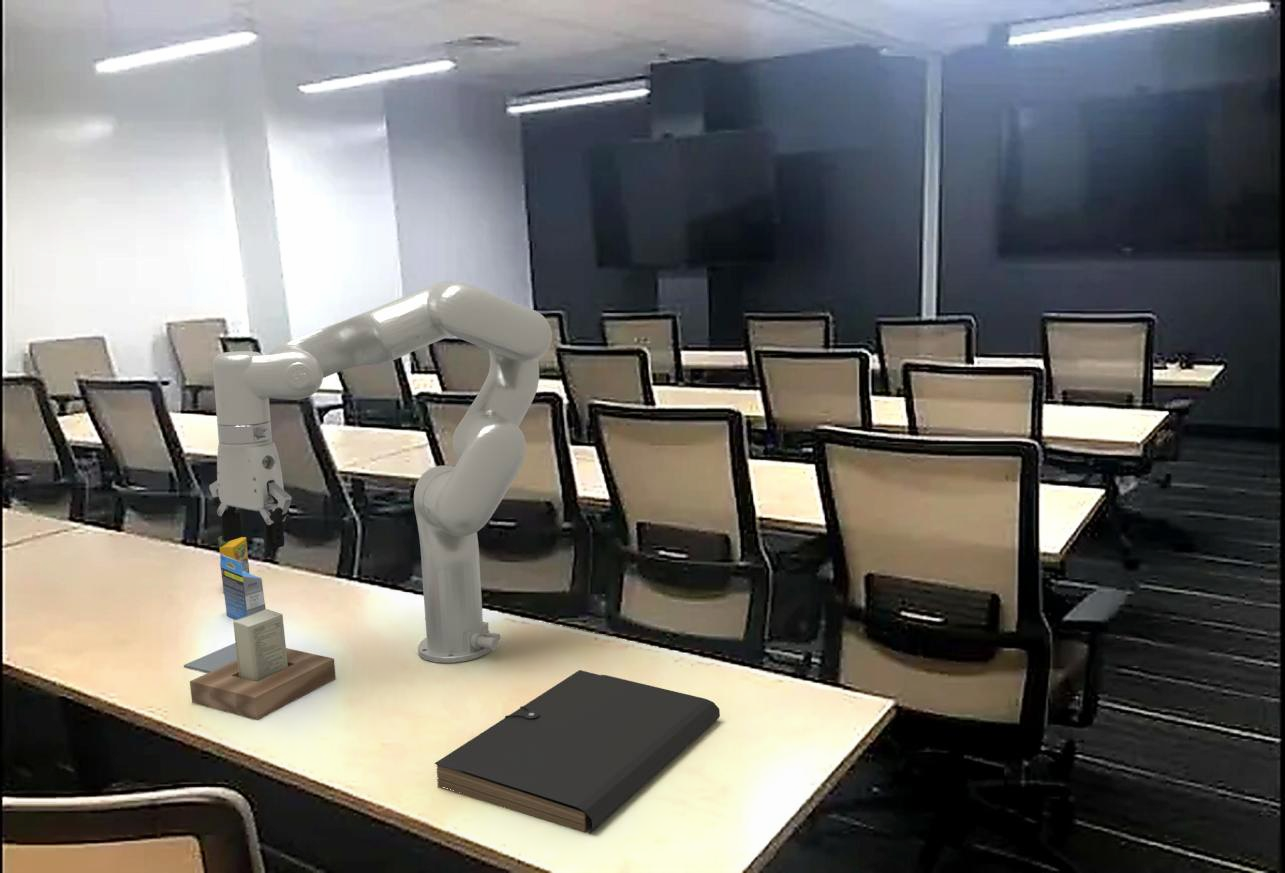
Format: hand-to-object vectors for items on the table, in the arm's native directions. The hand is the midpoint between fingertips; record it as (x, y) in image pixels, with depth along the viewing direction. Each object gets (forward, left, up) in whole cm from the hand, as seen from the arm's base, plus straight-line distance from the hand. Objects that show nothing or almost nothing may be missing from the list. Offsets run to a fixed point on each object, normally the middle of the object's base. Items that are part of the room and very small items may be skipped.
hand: (253, 543), depth 163 cm
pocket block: (-1, +1, -23) cm, 23 cm away
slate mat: (+13, -6, -23) cm, 28 cm away
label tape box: (+28, -21, -24) cm, 42 cm away
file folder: (-57, -3, -24) cm, 62 cm away
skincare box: (-1, +1, -24) cm, 24 cm away
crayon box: (+44, -33, -24) cm, 60 cm away
